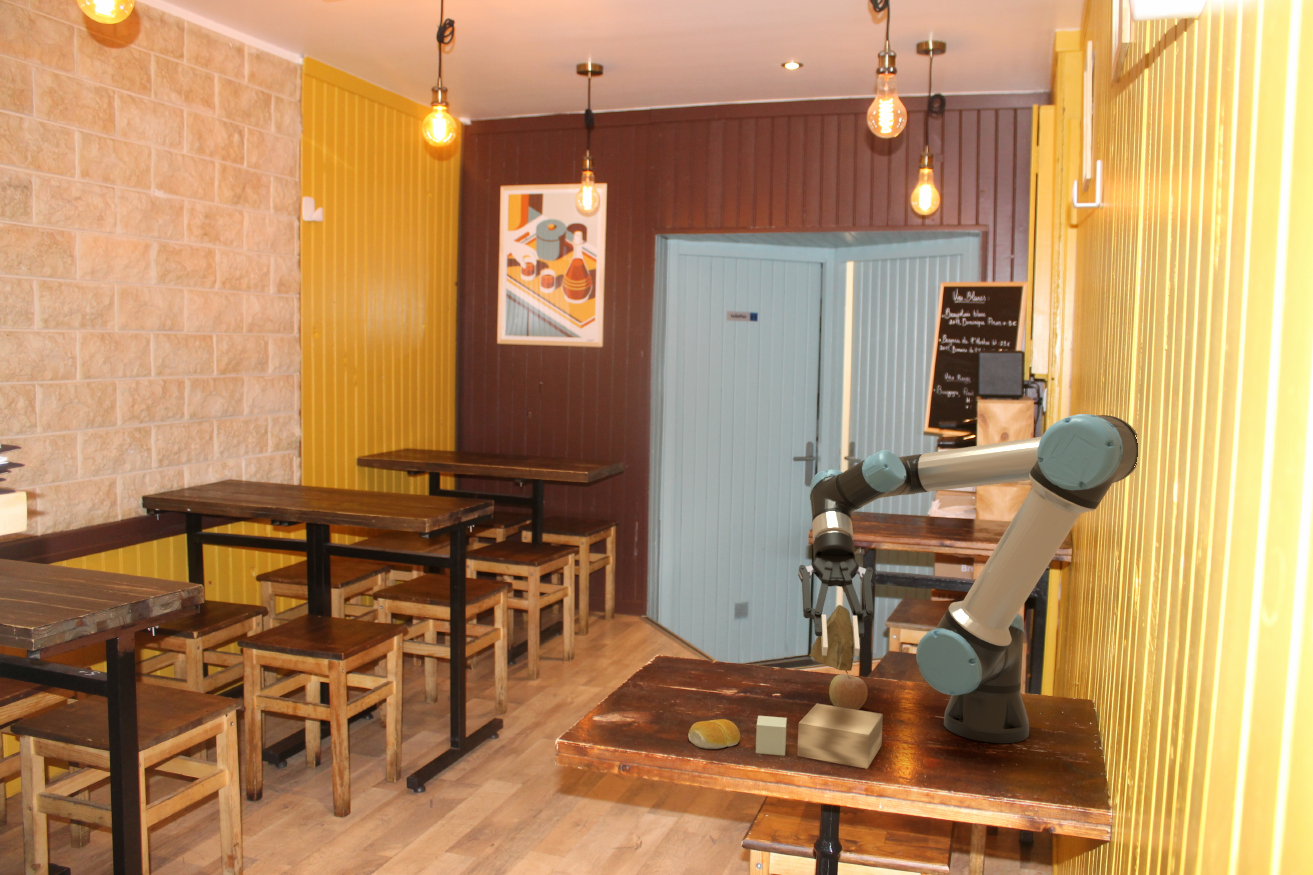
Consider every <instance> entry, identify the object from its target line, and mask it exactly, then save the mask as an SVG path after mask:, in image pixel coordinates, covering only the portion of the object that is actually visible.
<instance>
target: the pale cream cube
mask: <svg viewBox="0 0 1313 875" xmlns="http://www.w3.org/2000/svg"><path fill="white" fill-rule="evenodd" d="M756 721H757V722H756V729H755V730H756V732H755V735H756V738H755V754H761V755H763V754H764V755H773V756H774V755H775V756H786V747H787V746H786V744H787V721H788V718H787V717H782V716H781V717H779V716H778V717H777V716H767V715H766V716H765V715H758V716H757V720H756Z"/></svg>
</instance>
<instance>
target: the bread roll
mask: <svg viewBox="0 0 1313 875" xmlns="http://www.w3.org/2000/svg"><path fill="white" fill-rule="evenodd" d="M688 730H689V731H688V734H687V735H688V736H687V737H688V740H689V742H690V743H691V744H693V745H694V746H696V747H698V748H701V749H706V750H708V749H709V750H719V749H724V748H726V747H729V748H730V747H735V746H736V745H737V744H738V743H739V742H740V740H741V733H740V730H739V727H738V726H737V725H736V723H734V722H733V721H731V720H729V719H725V718H720V719H711V720H710V719H709V720H703V721H702V720H701V721H697V722H695V723H693V724H692V725H691V727H690V728H689V729H688Z"/></svg>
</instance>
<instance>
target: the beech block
mask: <svg viewBox="0 0 1313 875" xmlns="http://www.w3.org/2000/svg"><path fill="white" fill-rule="evenodd" d="M883 718H884V716H883V713H880V712H879V713H878V712H873V711H867V710H860V709H859V710H854V709H848V708H842V707H836V706H834V705H829V704H823V703H822V704H821V703H816V704H815V705H814V706H813V707H812V708H811V709H810V710H809V711H808V712H807V713H806V714H805V715H804V717H803V718H802V719H801V720H800V721H799V722H798V730H797V731H798V732H797V733H798V734H797V757H801V758H807V759H813V760H818V761H824V762H827V763H835V764H840V765H845V766H849V767H850V766H851V767H856V768H863V769H869V767H870V765H871V764H872V762H873V760H874V759H875V757H876V756H877V754H878V752H879V751H880V749H881V747H882V742H883Z"/></svg>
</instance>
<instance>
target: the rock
mask: <svg viewBox="0 0 1313 875" xmlns="http://www.w3.org/2000/svg"><path fill="white" fill-rule="evenodd" d="M851 622H852V618H851V613H850V611H849V609H847V608H846V606H843V605H841V604H838V605H837V606H836V607H835V609H834V611H833V612H832V613H831V614H830V616H829V617H828V618H827V619H826V624H827V641H828V650H827V656H825V655H822V643H821V636H816V639H815V641H814V643H813V644H812V648H811V652H810V654H809V657H811V658H812V659H813V660H814V661H815V662H817V663H819V664H822V665H825V666H827V667H829V668H830V667H831V668H833V669H835V670H838V671H845V670H846V671H847V672H848V671H850V672H851V671H852V668H853V663H854V654H853V647H854V643H853V630H852V626H851ZM846 671H845V672H846Z"/></svg>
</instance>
